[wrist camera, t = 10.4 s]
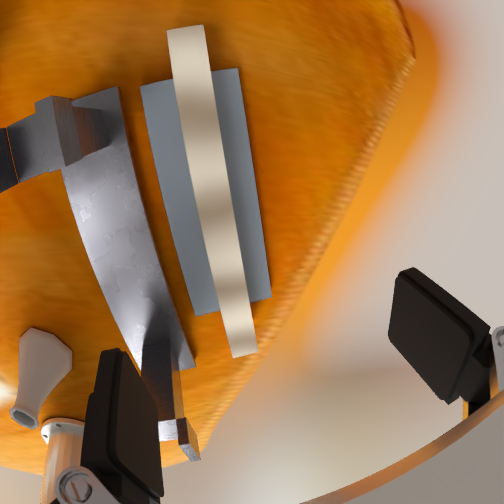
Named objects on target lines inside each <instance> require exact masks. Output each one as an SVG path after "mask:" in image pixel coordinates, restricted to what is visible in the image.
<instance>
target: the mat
mask: <svg viewBox="0 0 504 504" xmlns="http://www.w3.org/2000/svg"><path fill="white" fill-rule="evenodd" d="M211 77H212V84H213V90H214V96H215V102H216V109H217V115H218V121H219V127H220V133H221V139H222V146H223V152H224V158H225V164H226V170H227V176H228V182H229V188H230V194H231V199H232V205H233V211H234V217H235V223H236V229H237V235H238V240H239V246H240V252H241V258H242V263H243V269H244V275H245V280H246V286H247V292H248V297H249V303H252V302H255V301H259V300H263V299H267V298H270V297H272V295H271V287H270V280H269V273H268V266H267V259H266V252H265V245H264V237H263V230H262V224H261V217H260V210H259V203H258V196H257V189H256V183H255V176H254V169H253V163H252V156H251V149H250V143H249V136H248V130H247V123H246V117H245V111H244V104H243V98H242V92H241V85H240V79H239V73H238V68H233V69H225V70H218V71H212V72H211ZM140 90H141V96H142V102H143V107H144V113H145V118H146V123H147V129H148V134H149V139H150V143H151V148H152V153H153V158H154V162H155V167H156V171H157V176H158V180H159V184H160V189H161V193H162V197H163V201H164V205H165V209H166V213H167V217H168V221H169V225H170V229H171V233H172V237H173V240H174V244H175V248H176V251H177V255H178V259H179V262H180V266H181V269H182V273H183V276H184V280H185V283H186V286H187V290H188V293H189V296H190V300H191V303H192V306H193V309H194V313H195V316H200V315H204V314H208V313H212V312H216V311H220V307H219V302H218V298H217V294H216V290H215V286H214V282H213V277H212V273H211V269H210V265H209V260H208V256H207V251H206V247H205V242H204V238H203V233H202V229H201V224H200V220H199V215H198V210H197V205H196V201H195V196H194V191H193V186H192V181H191V176H190V171H189V166H188V160H187V155H186V150H185V145H184V139H183V134H182V128H181V122H180V117H179V111H178V105H177V99H176V93H175V87H174V81H173V79H169V80H164V81H160V82H155V83H151V84H147V85H143V86H140Z"/></svg>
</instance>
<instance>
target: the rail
mask: <svg viewBox="0 0 504 504" xmlns="http://www.w3.org/2000/svg"><path fill="white" fill-rule="evenodd" d="M167 41H168V48H169V55H170V61H171V68H172V74H173V81H174V87H175V93H176V99H177V105H178V111H179V117H180V122H181V128H182V134H183V139H184V145H185V150H186V155H187V160H188V166H189V171H190V176H191V181H192V186H193V191H194V196H195V201H196V205H197V210H198V215H199V220H200V224H201V229H202V233H203V238H204V242H205V247H206V251H207V256H208V260H209V265H210V269H211V273H212V277H213V282H214V286H215V290H216V294H217V298H218V302H219V307H220V311H221V315H222V319H223V323H224V326H225V330H226V334H227V338H228V342H229V345H230V349H231V353H232V356H233V358H236V357H240V356H244V355H248V354H251V353H255V352H258V347H257V341H256V336H255V330H254V325H253V319H252V314H251V308H250V303H249V297H248V292H247V286H246V280H245V275H244V269H243V263H242V258H241V252H240V246H239V240H238V235H237V229H236V223H235V217H234V211H233V205H232V199H231V194H230V188H229V182H228V176H227V170H226V164H225V158H224V152H223V146H222V139H221V133H220V127H219V121H218V115H217V109H216V102H215V96H214V90H213V84H212V77H211V71H210V64H209V58H208V51H207V45H206V38H205V32H204V25H195V26H189V27H183V28H177V29H171V30H167Z"/></svg>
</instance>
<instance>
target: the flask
mask: <svg viewBox="0 0 504 504" xmlns="http://www.w3.org/2000/svg"><path fill="white" fill-rule="evenodd" d="M71 369H72V351H71V350H70V349H69V348H68V347H67V346H66V345H65V344H63V343H62V342H61V341H60V340H59V339H58V338H57V337H56V336H55V335H54V334H50V333H47V332H44V331H41V330H38V329H35V328H32V327H31V328H30V329H29V330H28V331H26V332H25V333H24V334H23V335H22V336H21V337H20V338H19V385H18V393H17V399H16V402H15V405H14V406H13V407H12V408H11V409H10V411H9V412H10V415H11V418H12V419H13V420H14V421H16V422H17V423H19V424H20V425H22V426H24V427H27V428H30V429H35V428H37V427H38V426H39V421H38V415H39V411H40V409H41V407H42V405H43V403H44V401H45V399H46V398H47V396H48V395H49V394H50V393H51V391H52V390H53V389H54V388H55V387H56V385H57V384H58V383H59V382H60V381H61V380H62V379H63V378H64V377H65V376H66V375H67V374H68V372H69V371H70V370H71Z"/></svg>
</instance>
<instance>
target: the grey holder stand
mask: <svg viewBox="0 0 504 504" xmlns="http://www.w3.org/2000/svg"><path fill="white" fill-rule="evenodd" d="M35 109H36V113H35V114H33V115H31V116H28V117H26V118H24V119H22V120H20V121H18V122H16V123H14V124H12V125H10V126H8V127H7V131H6V128H0V193H1V192H3V191H5V190H7V189H9V188H10V187H12V186H14V185H16V184H18V181H19V183H20V182H23V181H25V180H27V179H30V178H32V177H35V176H37V175H40V174H42V173H45V172H47V171H49V173H50V172H53V171H56V170H58V169H61V172H62V176H63V180H64V183H65V187H66V191H67V194H68V197H69V201H70V204H71V207H72V211H73V214H74V217H75V220H76V223H77V226H78V229H79V232H80V235H81V238H82V241H83V244H84V246H85V249H86V252H87V255H88V257H89V260H90V262H91V265H92V268H93V270H94V273H95V275H96V278H97V280H98V283H99V285H100V287H101V290H102V292H103V294H104V297H105V299H106V301H107V304H108V306H109V308H110V310H111V312H112V315H113V317H114V319H115V321H116V323H117V325H118V327H119V329H120V331H121V334H122V336H123V338H124V340H125V342H126V344H127V346H128V348H129V349H130V351H131V353H132V355H133V357H134V359H135V361H136V363H137V365H138V366H139V368H140V370H141V379H142V381H143V382H144V384H145V386H146V388H147V389H148V391H149V393H150V394H151V396H152V398H153V399H154V401H155V403H156V406H157V410H158V426H159V442H161V441H168V440H174V439H178V442H179V446H180V448H181V449H182V450H183V452H184V453H185V454H186V456H187V457H188V458H189V459H190V461H197V460H201V458H200V453H199V447H198V441H197V435H196V434H195V432H194V430H193V429H192V427H191V425H190V424H189V422H188V420H187V418H186V417H185V418H184V409H183V400H182V391H181V380H180V370H185V369H189V368H194V367H196V364H195V358H194V356H193V353H192V351H191V348H190V345H189V343H188V340H187V337H186V334H185V332H184V329H183V326H182V323H181V321H180V318H179V315H178V312H177V309H176V306H175V303H174V300H173V297H172V294H171V291H170V288H169V285H168V282H167V279H166V276H165V273H164V269H163V266H162V263H161V260H160V256H159V253H158V250H157V246H156V243H155V239H154V236H153V232H152V229H151V225H150V222H149V218H148V214H147V211H146V207H145V203H144V199H143V195H142V191H141V187H140V183H139V179H138V175H137V171H136V166H135V162H134V158H133V153H132V149H131V144H130V139H129V134H128V129H127V124H126V119H125V114H124V109H123V103H122V97H121V92H120V87H118V86H116V87H112V88H109V89H106V90H103V91H100V92H97V93H94V94H91V95H88V96H85V97H82V98H79V99H76V100H74V101H71V99H70V98H64V97H58V96H49V97H47V98H44V99H42V100H40V101H38V102H35ZM7 132H8V136H7ZM8 137H9V141H8ZM9 142H10V146H9ZM10 147H11V151H10ZM11 152H12V155H11ZM12 156H13V160H12ZM13 161H14V164H13ZM14 165H15V168H14ZM15 169H16V172H15ZM16 173H17V176H16ZM17 177H18V180H17Z"/></svg>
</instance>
